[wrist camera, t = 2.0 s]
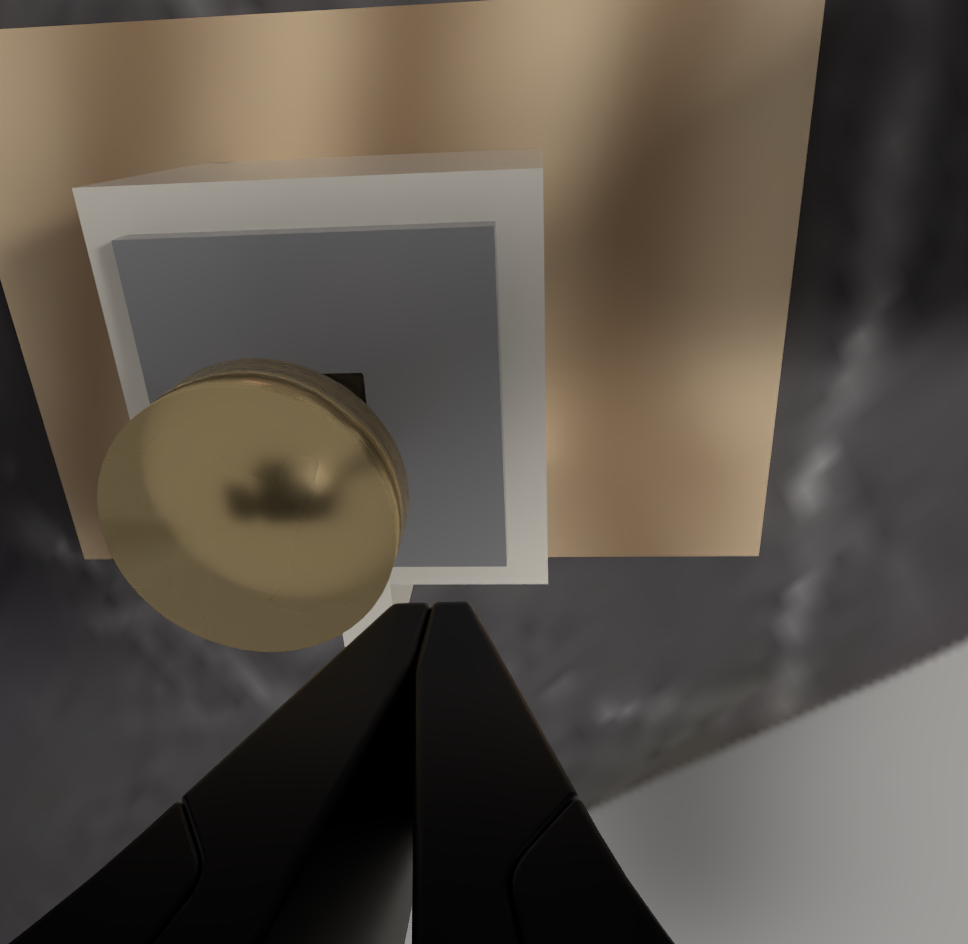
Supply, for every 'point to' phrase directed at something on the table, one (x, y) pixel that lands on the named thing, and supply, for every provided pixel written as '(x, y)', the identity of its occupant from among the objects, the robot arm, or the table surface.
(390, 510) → the gold push button
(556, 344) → the serving board
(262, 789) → the robot arm
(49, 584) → the table surface
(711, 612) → the table surface
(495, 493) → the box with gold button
